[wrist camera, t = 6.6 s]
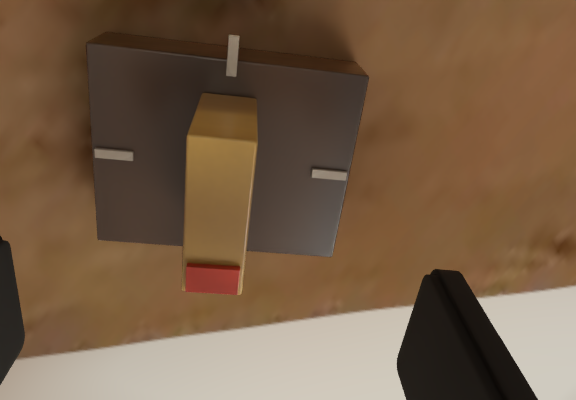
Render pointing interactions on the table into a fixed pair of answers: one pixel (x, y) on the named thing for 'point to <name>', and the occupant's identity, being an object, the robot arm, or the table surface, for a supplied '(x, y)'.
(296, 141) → the plate
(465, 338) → the robot arm
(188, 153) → the lock knob
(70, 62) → the table surface
